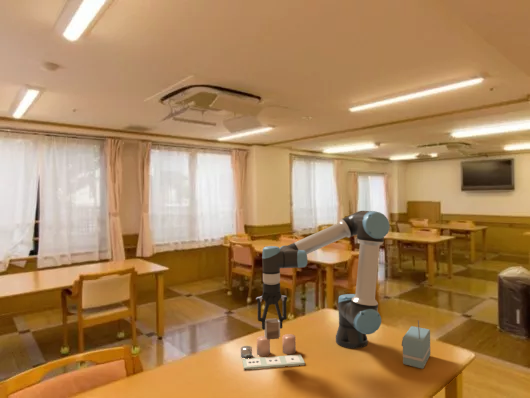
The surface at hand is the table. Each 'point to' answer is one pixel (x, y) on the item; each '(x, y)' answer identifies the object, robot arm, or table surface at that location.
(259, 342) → the pink capsule pill
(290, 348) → the peach capsule
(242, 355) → the tin
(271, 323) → the walnut block
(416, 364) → the radio
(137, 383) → the table surface
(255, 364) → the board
